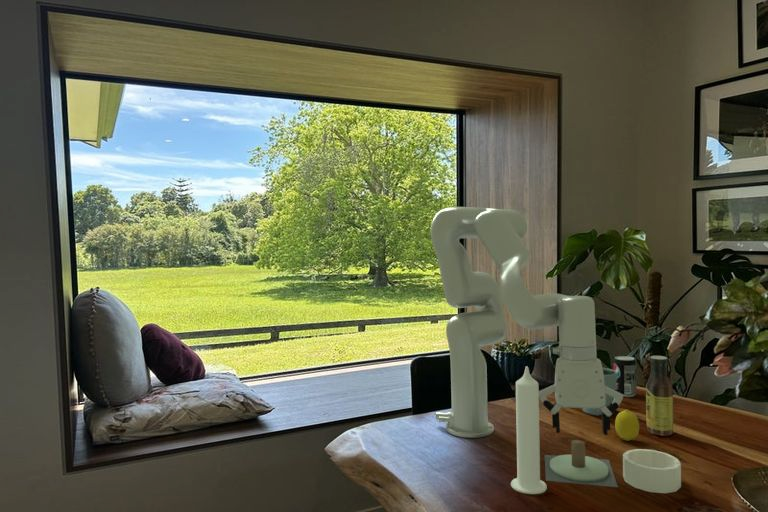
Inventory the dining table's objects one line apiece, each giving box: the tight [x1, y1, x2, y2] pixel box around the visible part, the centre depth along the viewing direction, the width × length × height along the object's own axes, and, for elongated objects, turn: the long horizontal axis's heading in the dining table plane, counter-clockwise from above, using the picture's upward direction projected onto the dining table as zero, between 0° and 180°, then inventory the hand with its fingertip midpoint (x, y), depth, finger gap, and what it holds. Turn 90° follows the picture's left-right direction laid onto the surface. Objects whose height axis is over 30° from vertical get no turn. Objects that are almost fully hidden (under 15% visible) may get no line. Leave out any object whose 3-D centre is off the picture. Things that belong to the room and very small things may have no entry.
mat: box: [544, 454, 619, 488], centre depth 118 cm, size 14×14×1 cm
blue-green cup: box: [582, 367, 617, 416], centre depth 158 cm, size 10×10×12 cm
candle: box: [510, 365, 548, 495], centre depth 110 cm, size 7×7×25 cm
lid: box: [550, 439, 608, 482], centre depth 118 cm, size 12×12×6 cm
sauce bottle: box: [645, 355, 674, 437], centre depth 139 cm, size 6×6×20 cm
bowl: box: [622, 448, 682, 494], centre depth 111 cm, size 10×10×5 cm
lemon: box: [614, 409, 640, 442], centre depth 134 cm, size 6×6×8 cm
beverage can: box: [613, 355, 638, 398], centre depth 174 cm, size 7×7×12 cm
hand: (581, 432), depth 117 cm, fingers open, 9 cm apart
